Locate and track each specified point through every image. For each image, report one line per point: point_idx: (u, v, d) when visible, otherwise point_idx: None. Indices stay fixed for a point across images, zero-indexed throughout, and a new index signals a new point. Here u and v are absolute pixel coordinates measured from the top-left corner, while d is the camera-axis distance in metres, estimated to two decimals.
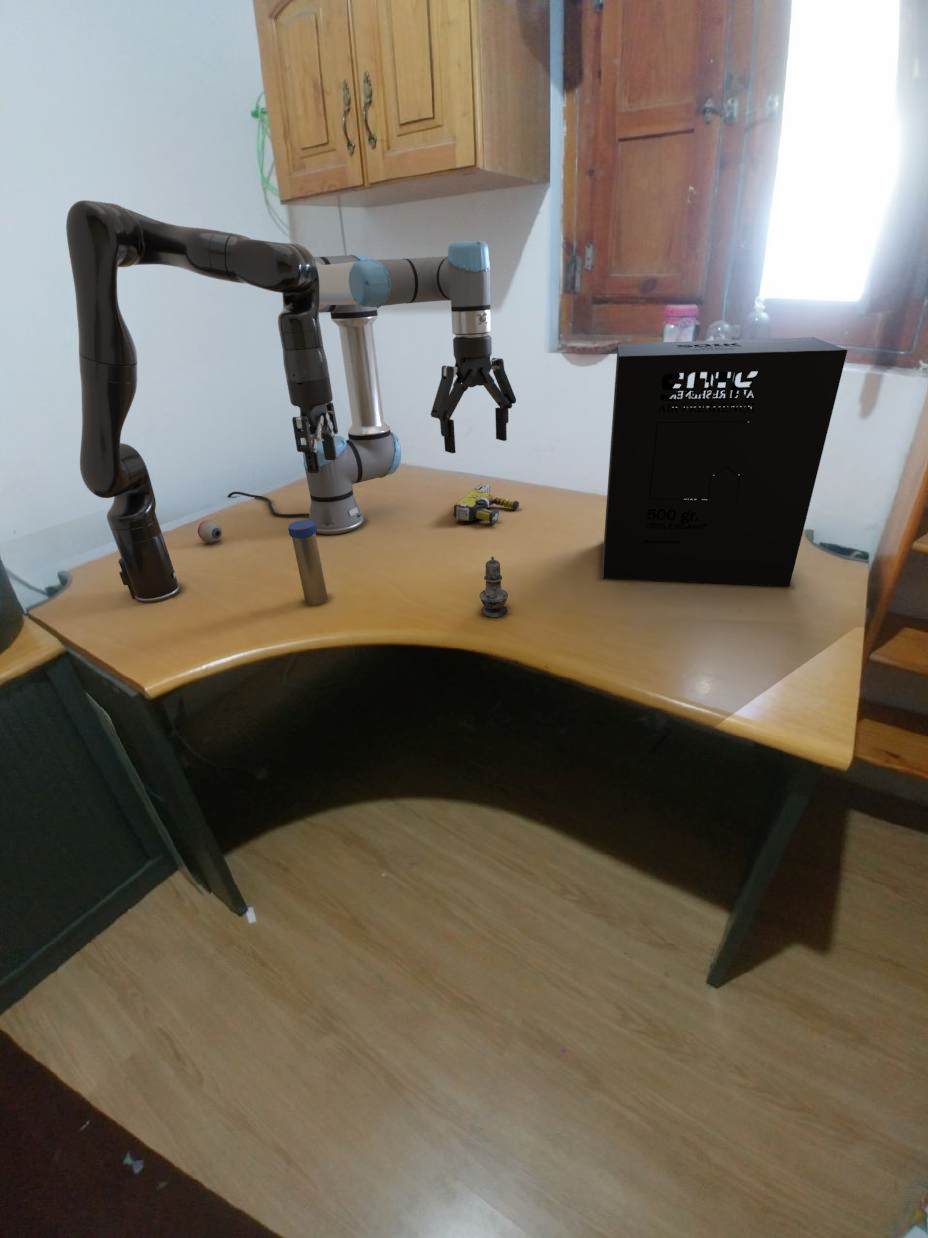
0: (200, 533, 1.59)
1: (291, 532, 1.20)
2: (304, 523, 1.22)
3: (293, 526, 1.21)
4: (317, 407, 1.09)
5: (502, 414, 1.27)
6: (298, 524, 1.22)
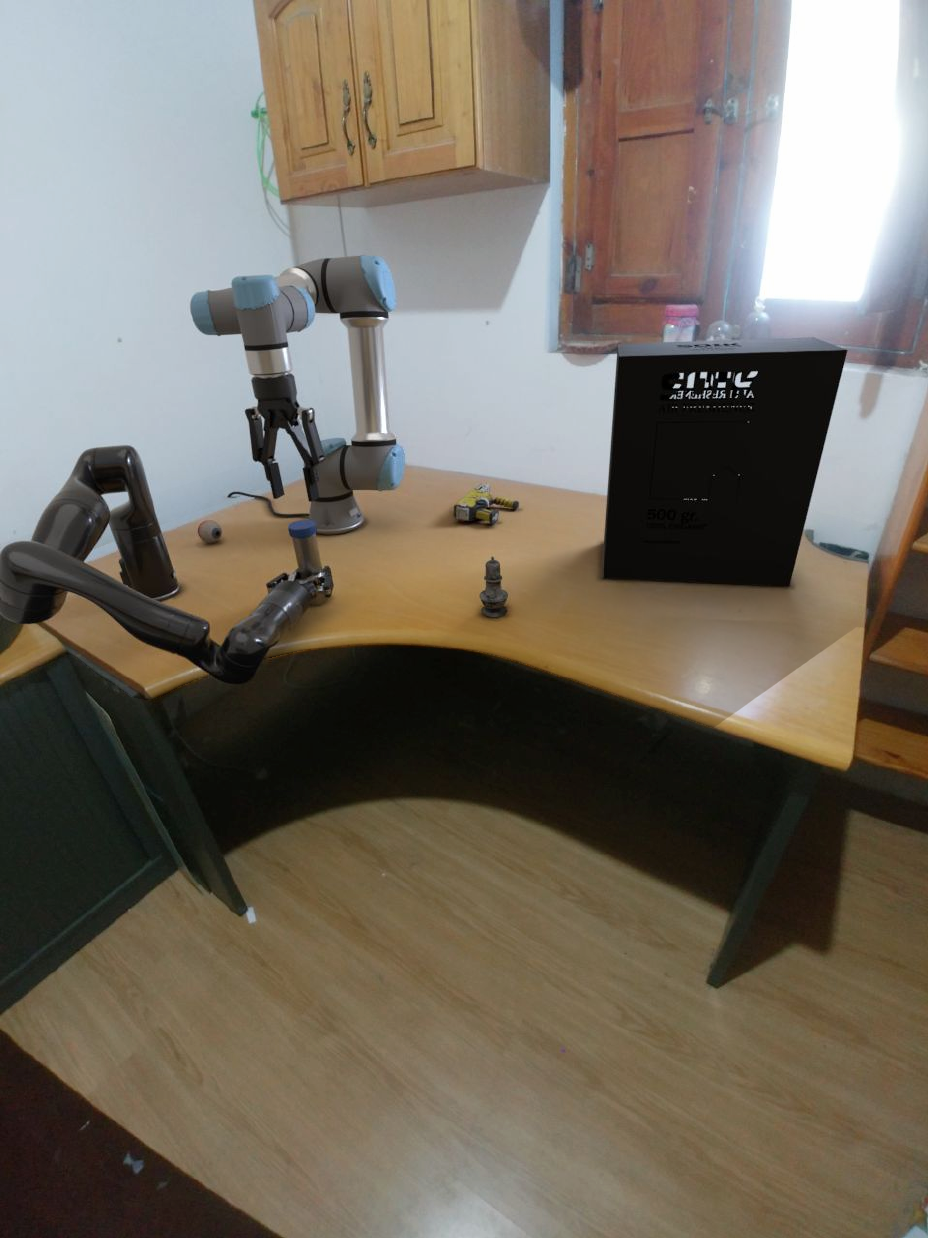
0: (200, 533, 1.59)
1: (291, 532, 1.20)
2: (304, 523, 1.22)
3: (293, 526, 1.21)
4: None
5: (278, 468, 1.18)
6: (298, 524, 1.22)
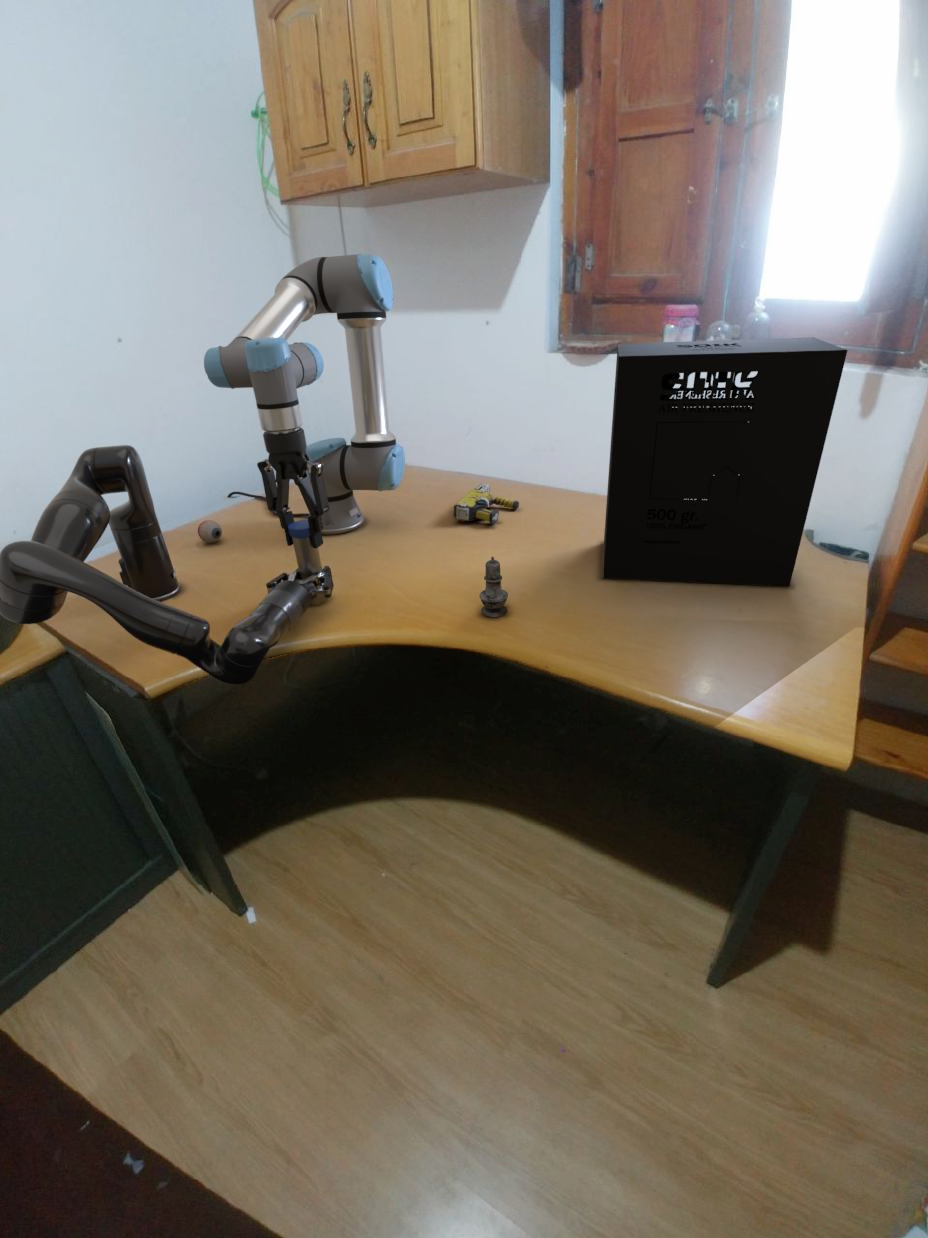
0: (200, 533, 1.59)
1: (291, 532, 1.20)
2: (304, 523, 1.22)
3: (293, 526, 1.21)
4: None
5: (292, 516, 1.23)
6: (298, 524, 1.22)
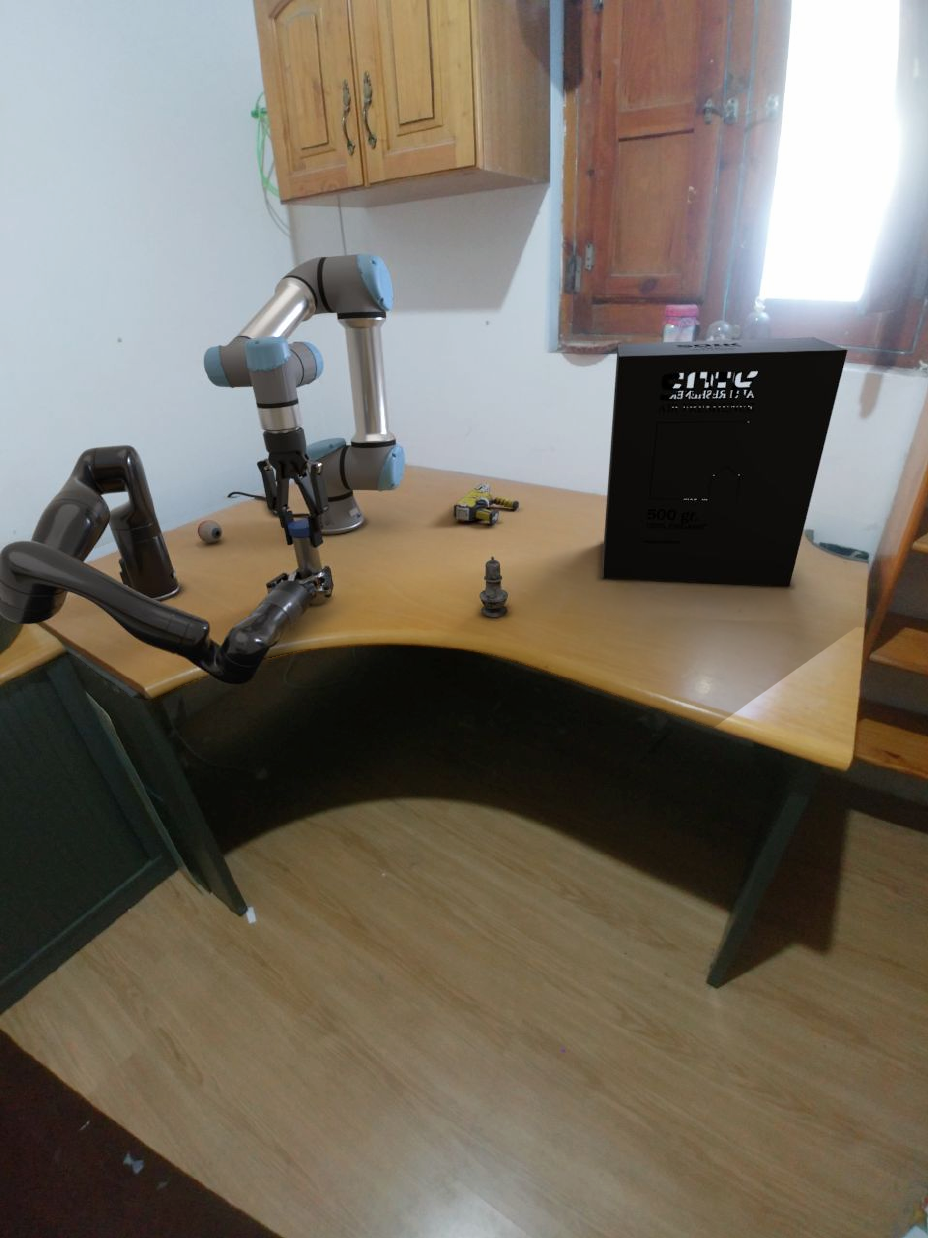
0: (200, 533, 1.59)
1: None
2: (298, 524, 1.22)
3: (308, 524, 1.21)
4: None
5: (292, 516, 1.23)
6: (302, 524, 1.21)
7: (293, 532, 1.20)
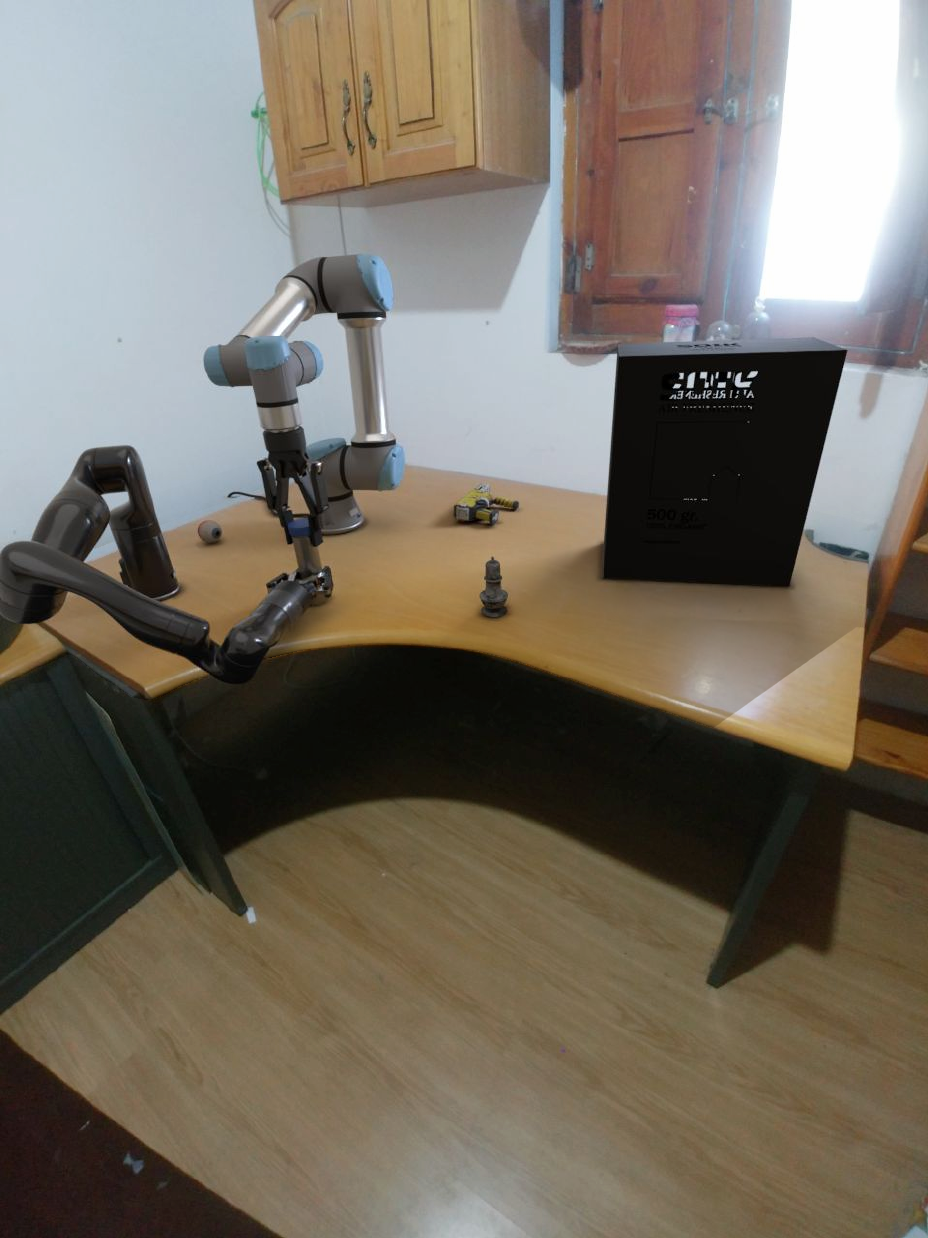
0: (200, 533, 1.59)
1: None
2: (302, 524, 1.21)
3: (300, 520, 1.23)
4: None
5: (291, 515, 1.23)
6: (303, 522, 1.22)
7: None
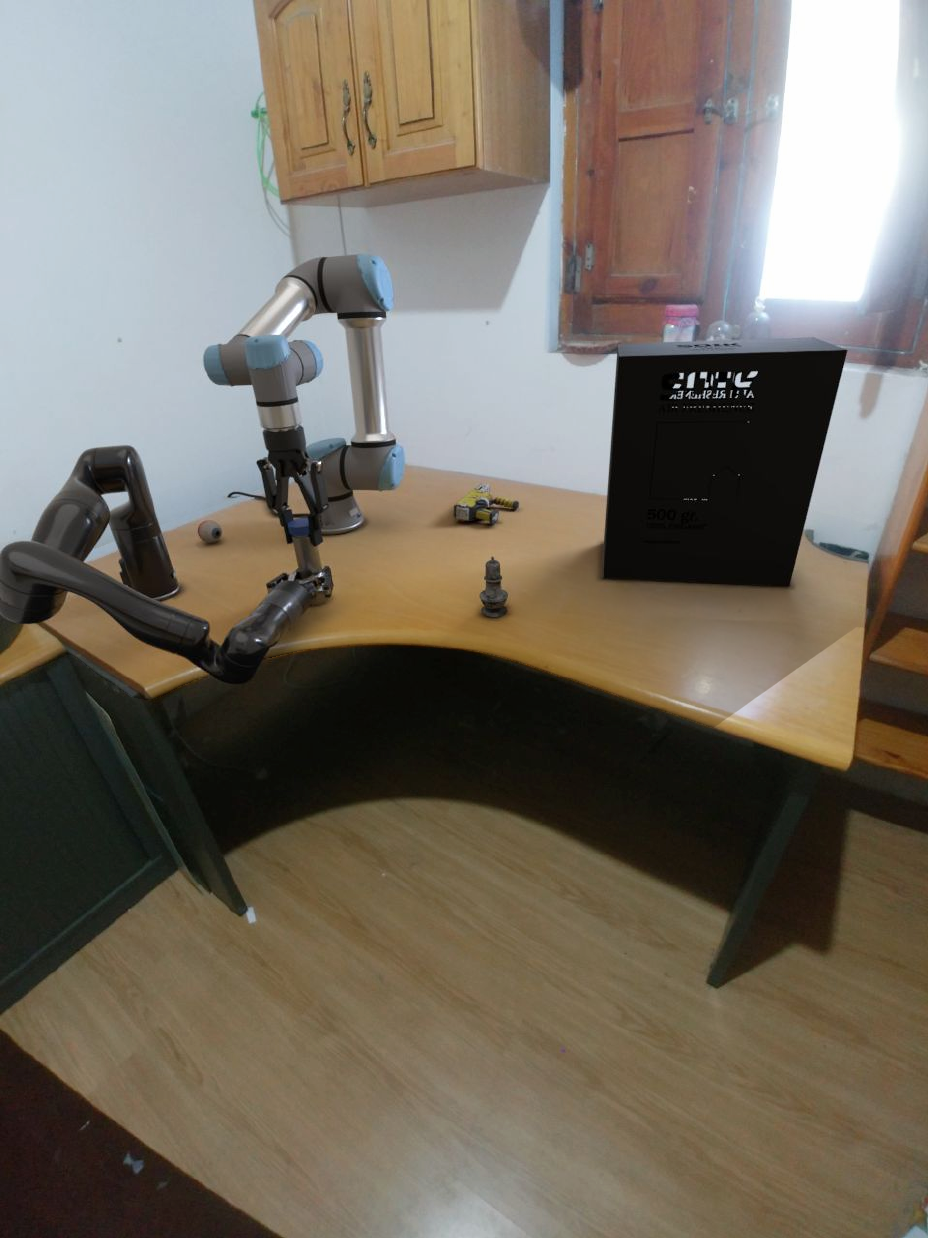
0: (200, 533, 1.59)
1: (296, 531, 1.20)
2: (302, 521, 1.22)
3: (295, 525, 1.20)
4: None
5: (291, 514, 1.23)
6: (297, 523, 1.21)
7: None
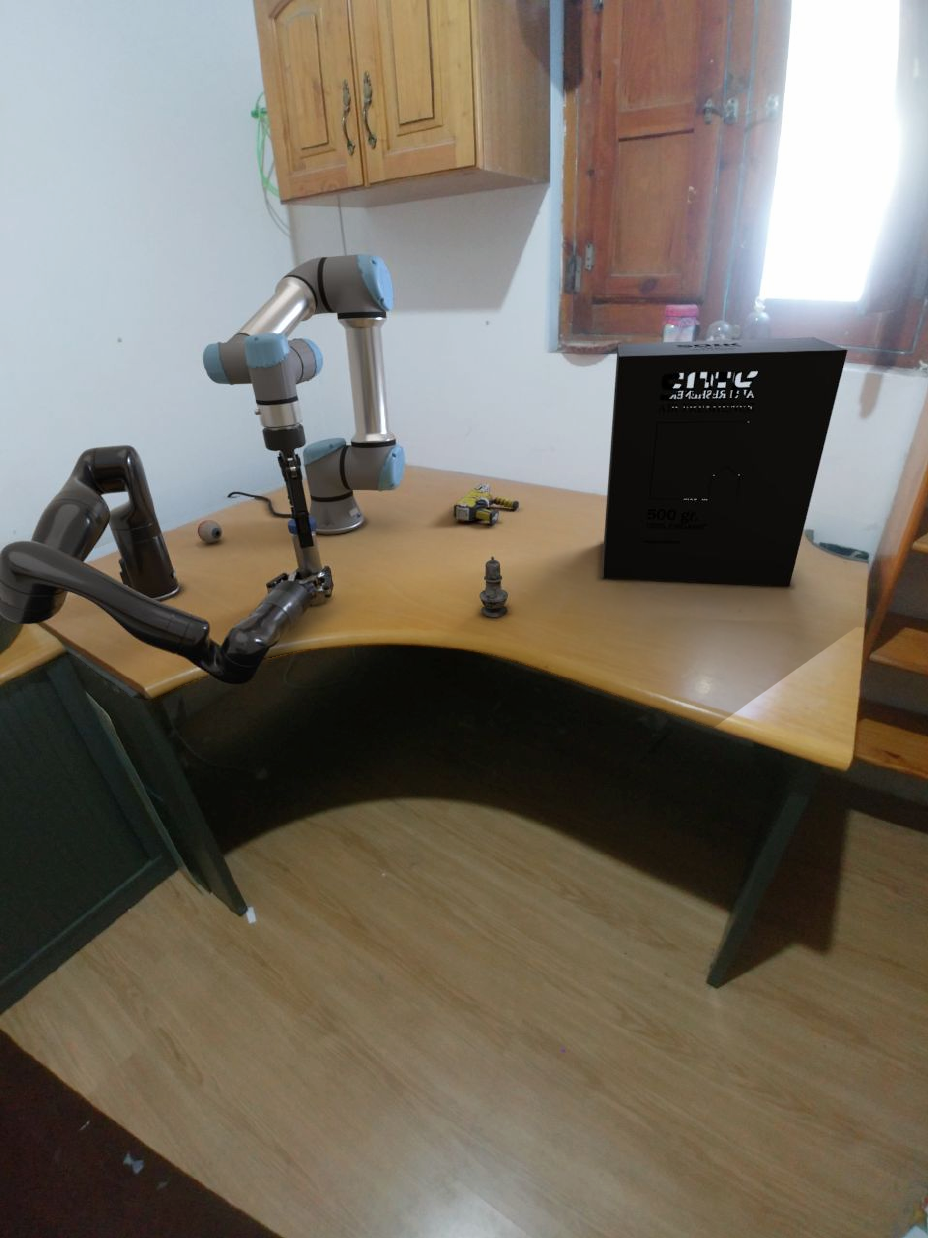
0: (200, 533, 1.59)
1: None
2: None
3: (309, 520, 1.22)
4: None
5: None
6: None
7: None
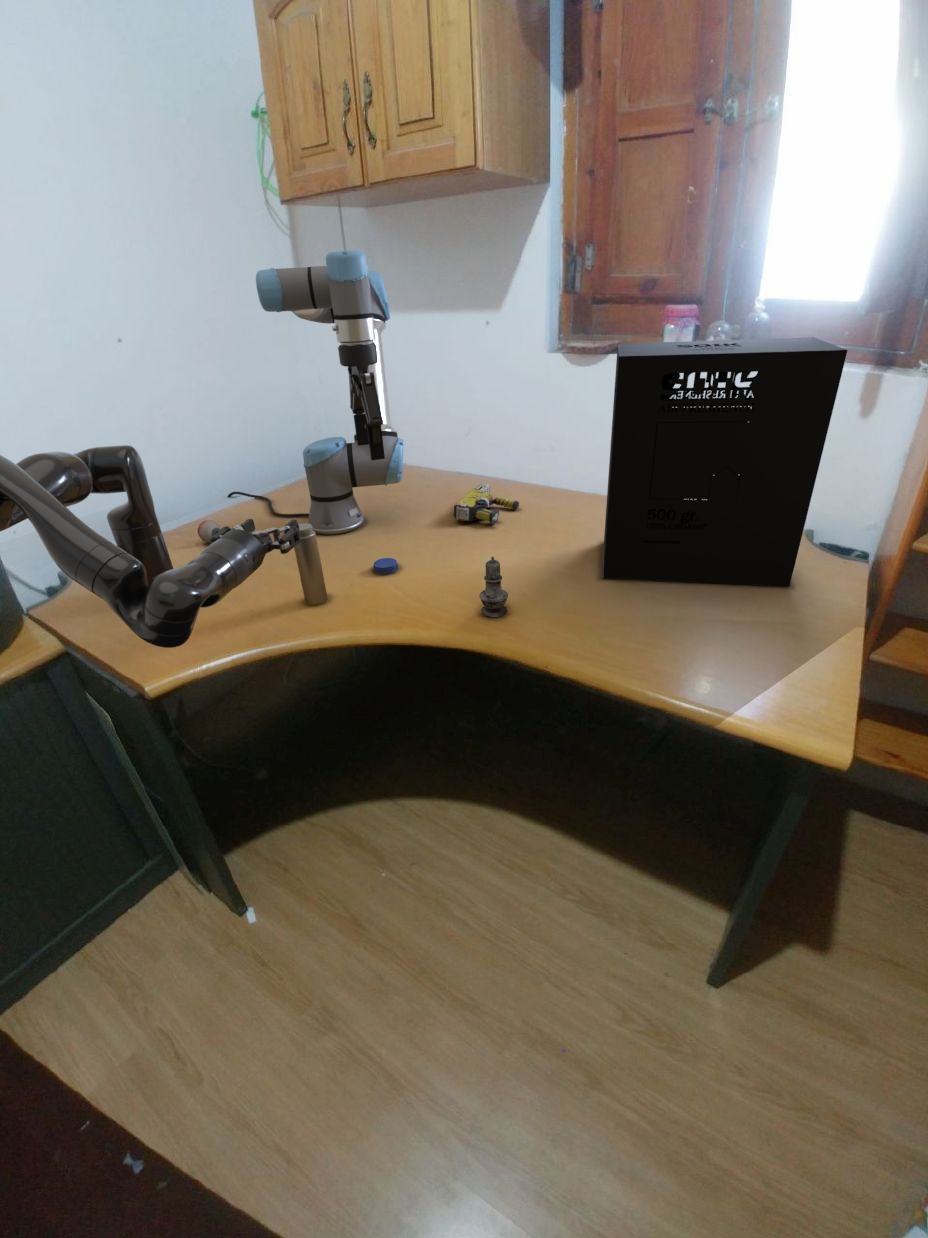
0: (200, 533, 1.59)
1: None
2: (382, 563, 1.41)
3: (392, 561, 1.42)
4: None
5: None
6: (387, 563, 1.41)
7: (384, 570, 1.39)
